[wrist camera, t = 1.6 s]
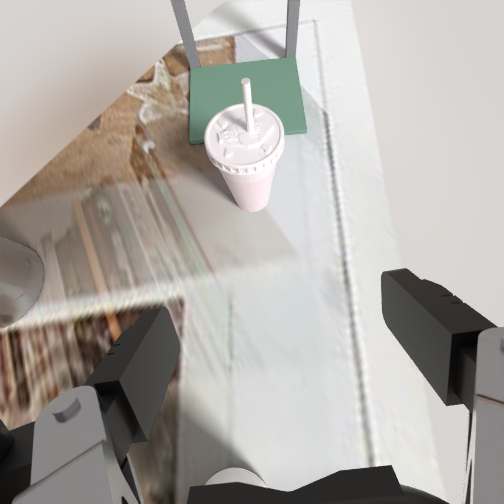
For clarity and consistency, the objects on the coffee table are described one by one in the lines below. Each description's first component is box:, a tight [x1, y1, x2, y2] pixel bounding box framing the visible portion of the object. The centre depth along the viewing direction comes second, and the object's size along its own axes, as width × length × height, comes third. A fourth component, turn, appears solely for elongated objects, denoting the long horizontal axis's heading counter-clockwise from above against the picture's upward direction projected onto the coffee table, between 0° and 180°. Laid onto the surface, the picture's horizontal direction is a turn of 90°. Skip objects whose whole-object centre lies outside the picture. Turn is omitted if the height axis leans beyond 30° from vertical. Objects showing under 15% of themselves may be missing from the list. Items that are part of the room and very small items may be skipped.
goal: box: [171, 0, 307, 144], centre depth 29 cm, size 14×13×14 cm
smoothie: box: [204, 78, 285, 212], centre depth 24 cm, size 6×6×14 cm
